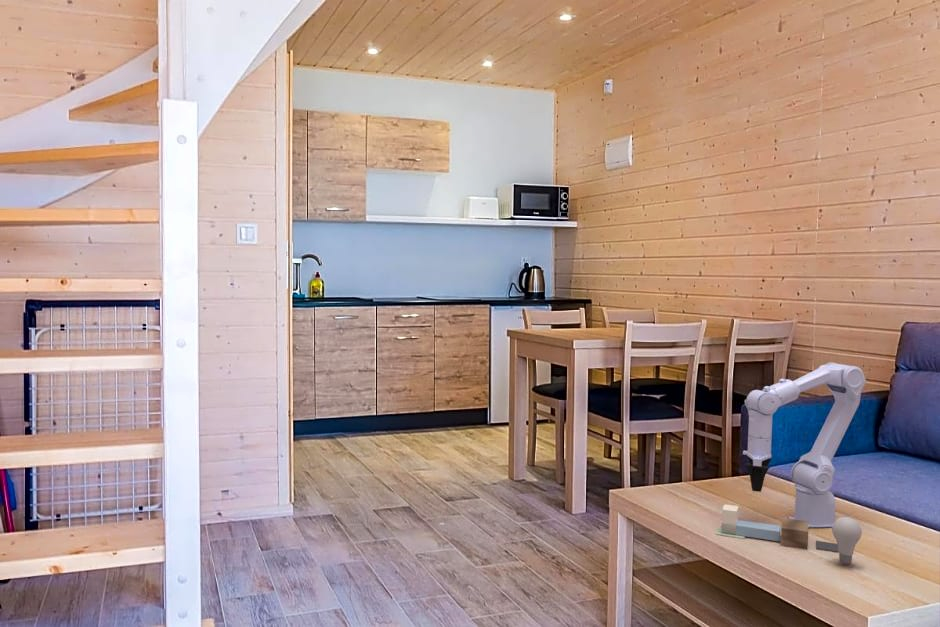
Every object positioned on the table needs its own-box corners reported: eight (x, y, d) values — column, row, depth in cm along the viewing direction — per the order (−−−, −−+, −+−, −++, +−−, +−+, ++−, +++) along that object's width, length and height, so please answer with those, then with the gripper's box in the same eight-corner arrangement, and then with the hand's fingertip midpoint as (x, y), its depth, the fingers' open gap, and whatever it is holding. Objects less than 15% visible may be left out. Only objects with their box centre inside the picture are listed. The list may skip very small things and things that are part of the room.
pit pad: (842, 545, 189) (842, 544, 189) (843, 553, 183) (843, 552, 183) (816, 541, 191) (816, 540, 191) (816, 549, 186) (816, 548, 186)
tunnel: (807, 538, 193) (808, 521, 193) (807, 549, 185) (808, 531, 185) (781, 534, 196) (782, 517, 196) (780, 545, 188) (781, 527, 187)
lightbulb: (826, 564, 176) (828, 517, 176) (836, 557, 180) (838, 511, 180) (854, 571, 172) (856, 523, 171) (863, 565, 176) (866, 518, 175)
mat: (746, 530, 198) (746, 529, 198) (744, 538, 192) (744, 537, 192) (718, 526, 201) (718, 525, 201) (715, 534, 195) (715, 533, 195)
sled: (780, 535, 194) (781, 511, 194) (779, 541, 190) (780, 517, 189) (723, 526, 200) (724, 504, 199) (721, 532, 195) (722, 509, 195)
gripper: (745, 429, 209) (743, 479, 210) (741, 439, 196) (739, 492, 196) (773, 432, 206) (771, 482, 207) (771, 442, 193) (768, 496, 194)
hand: (757, 487), depth 201 cm, fingers open, 7 cm apart
